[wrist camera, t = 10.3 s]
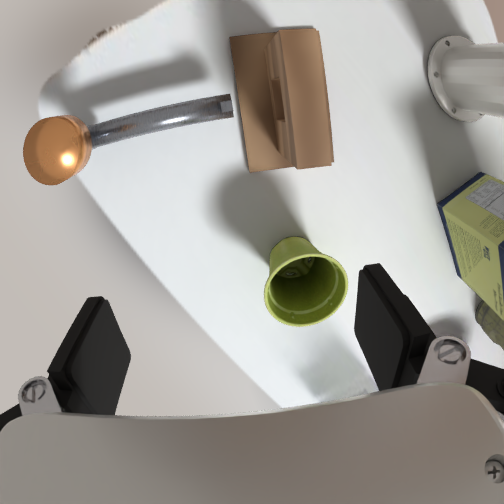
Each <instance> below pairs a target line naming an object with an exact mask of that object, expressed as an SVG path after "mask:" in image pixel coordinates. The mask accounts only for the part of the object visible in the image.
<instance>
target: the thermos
mask: <svg viewBox="0 0 504 504" xmlns="http://www.w3.org/2000/svg"><path fill="white" fill-rule="evenodd" d="M475 318H476V321H477V323H478V324H480V326H481V327H482V329H483V331H484V332H485V333H486V334H487V335H488V336H489V338H490V339H491V340H492V341H493V342H494V343H496V344H498V345H500V346H501V347H502V349H503V350H504V321H503V320H502V319H501V318H500V317H499V316H498V315H497V313H496V312H495V311H494V310H493V309H492V308H491V307H490V306H489V305H488V304H487V303H486V302H485V301H484V300H482V301H481V303H480V304H479V306H478V308H477V311H476V315H475Z"/></svg>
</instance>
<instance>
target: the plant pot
mask: <svg viewBox="0 0 504 504" xmlns="http://www.w3.org/2000/svg"><path fill="white" fill-rule="evenodd" d="M309 257H311V261H310V262H308V259H309ZM269 261H270V262H269V265H270V272H269V278H268V279H267V282H266V284H265V288H264V301H265V305H266V307H267V309H268V311H269V313H270V314H271V315H272V316H273V317H274V318H275V319H276V320H278V321H279V322H281V323H283V324H286V325H290V326H296V327H303V326H310V325H314V324H316V323H319V322H322V321H324V320H325V319H327V318H329V317H330V316H331V315H332V314H334V313H335V312H336V311H337V310H338V308H339V307H340V306H341V304H342V303H343V301H344V299H345V297H346V294H347V290H348V278H347V274H346V272H345V270H344V268H343V267H342V265H341V264H340V263H339V262H338V261H337V260H335V259H334V258H332V257H330V256H328V255H325V254H322V253H321V252H319V251H318V250H317V249H316V248H315V247H314V246H313V245H312V244H311V243H310V242H309V241H307V240H306V239H304V238H301V237H288V238H285V239H283V240H281V241H280V242H279V243H278V244H277V245H276V246H275V247H274V248H273V249H272V251H271V254H270V260H269ZM286 273H296V274H294V275H287V274H286Z"/></svg>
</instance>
